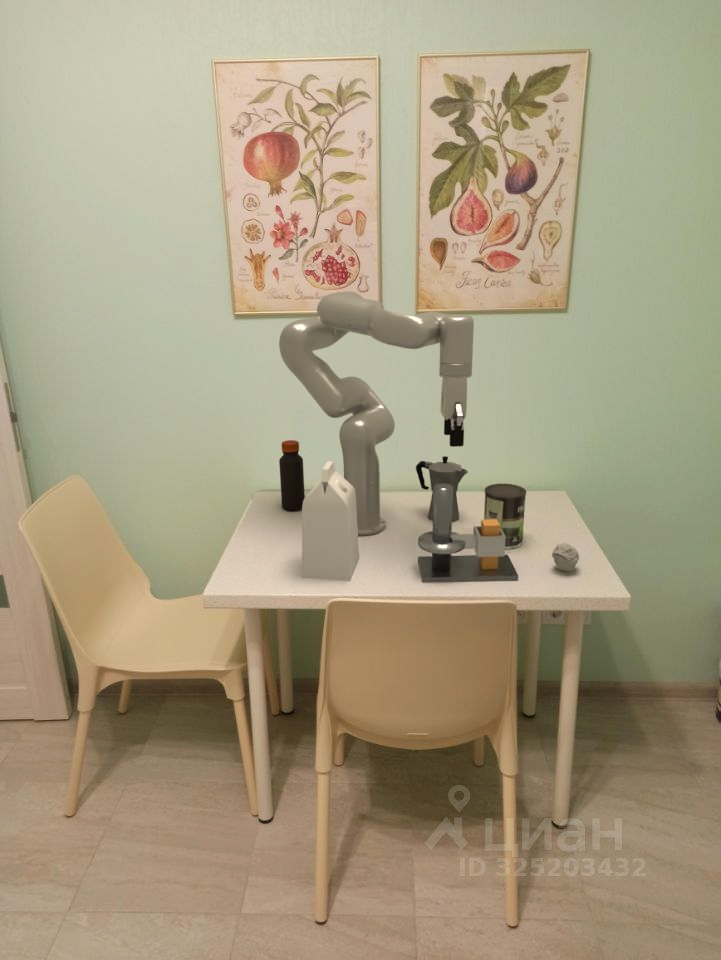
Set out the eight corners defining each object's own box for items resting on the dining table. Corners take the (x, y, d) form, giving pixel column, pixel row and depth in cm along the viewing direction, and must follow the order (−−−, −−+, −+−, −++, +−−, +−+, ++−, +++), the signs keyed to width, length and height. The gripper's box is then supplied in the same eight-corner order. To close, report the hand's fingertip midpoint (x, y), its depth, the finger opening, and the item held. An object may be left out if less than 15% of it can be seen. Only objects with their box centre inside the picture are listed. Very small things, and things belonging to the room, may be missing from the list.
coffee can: (525, 535, 179) (528, 485, 175) (519, 551, 170) (523, 499, 165) (486, 530, 183) (488, 481, 178) (478, 546, 174) (481, 494, 169)
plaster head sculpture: (544, 571, 160) (547, 544, 158) (560, 561, 165) (562, 535, 163) (568, 579, 156) (571, 552, 154) (583, 569, 161) (586, 542, 159)
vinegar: (295, 513, 196) (292, 447, 189) (277, 509, 199) (273, 443, 193) (309, 506, 201) (306, 441, 195) (291, 502, 205) (288, 438, 198)
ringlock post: (420, 582, 156) (421, 496, 149) (415, 561, 166) (416, 479, 159) (518, 580, 156) (524, 494, 149) (507, 558, 167) (512, 477, 159)
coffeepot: (471, 515, 192) (474, 455, 186) (458, 527, 185) (460, 464, 179) (422, 506, 200) (423, 447, 194) (408, 517, 192) (408, 456, 186)
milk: (314, 555, 170) (309, 456, 161) (359, 558, 168) (357, 458, 160) (301, 577, 159) (296, 472, 150) (350, 581, 157) (347, 474, 148)
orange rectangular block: (482, 568, 159) (484, 525, 156) (479, 562, 163) (481, 519, 159) (497, 568, 159) (500, 525, 156) (494, 561, 163) (496, 519, 159)
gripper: (435, 363, 166) (433, 430, 172) (444, 377, 150) (442, 451, 156) (465, 362, 166) (463, 430, 172) (478, 376, 150) (475, 450, 156)
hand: (453, 440), depth 164 cm, fingers open, 9 cm apart
